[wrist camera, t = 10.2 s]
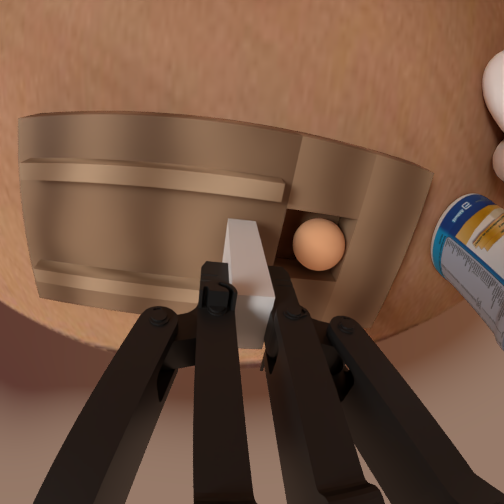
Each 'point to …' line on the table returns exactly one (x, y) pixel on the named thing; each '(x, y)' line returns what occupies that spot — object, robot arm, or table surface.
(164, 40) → the table surface
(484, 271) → the beverage bottle
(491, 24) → the table surface
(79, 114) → the lane board
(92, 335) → the table surface
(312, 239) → the ball
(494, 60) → the white knot
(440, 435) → the robot arm
